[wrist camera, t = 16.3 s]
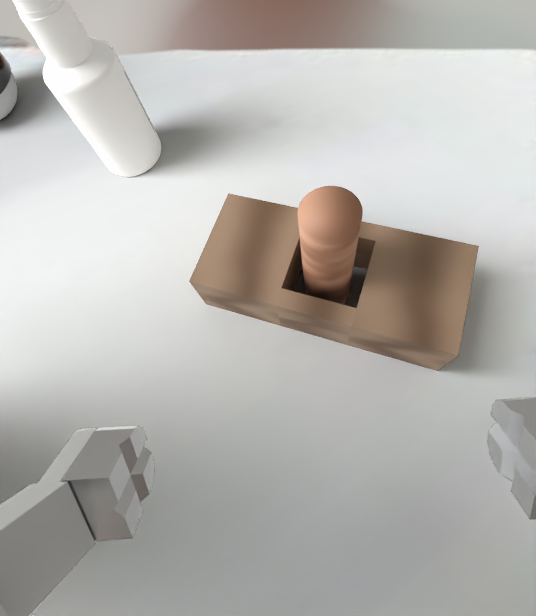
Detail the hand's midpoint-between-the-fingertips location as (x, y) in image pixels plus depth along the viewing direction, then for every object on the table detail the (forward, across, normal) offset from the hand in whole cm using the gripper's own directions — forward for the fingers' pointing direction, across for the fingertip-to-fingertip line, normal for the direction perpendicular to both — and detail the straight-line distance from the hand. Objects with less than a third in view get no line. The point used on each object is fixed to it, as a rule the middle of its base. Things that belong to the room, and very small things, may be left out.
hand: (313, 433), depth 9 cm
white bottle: (+40, +17, -7) cm, 44 cm away
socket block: (+26, -3, +7) cm, 26 cm away
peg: (+26, -3, +7) cm, 27 cm away
